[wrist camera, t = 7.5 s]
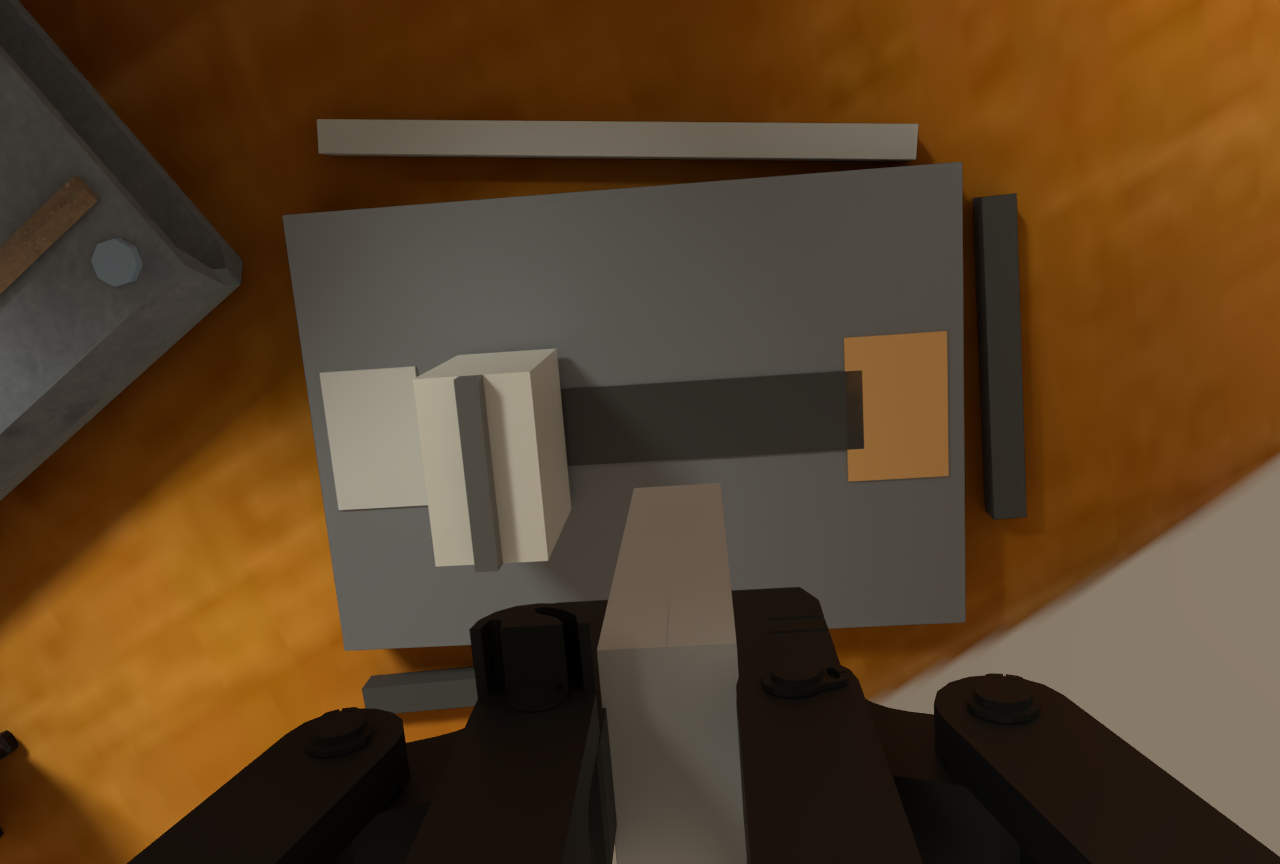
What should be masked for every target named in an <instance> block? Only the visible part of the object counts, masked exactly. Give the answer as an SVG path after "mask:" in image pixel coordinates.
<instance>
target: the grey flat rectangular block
mask: <svg viewBox="0 0 1280 864" xmlns="http://www.w3.org/2000/svg"><path fill="white" fill-rule="evenodd" d="M282 218H283V225H284V232H285V239H286V246H287V253H288V260H289V267H290V274H291V281H292V288H293V295H294V302H295V308H296V315H297V322H298V329H299V336H300V343H301V350H302V357H303V364H304V371H305V378H306V385H307V392H308V399H309V406H310V413H311V420H312V427H313V434H314V440H315V447H316V454H317V461H318V468H319V475H320V482H321V489H322V496H323V503H324V510H325V517H326V524H327V531H328V538H329V545H330V552H331V559H332V565H333V572H334V579H335V586H336V593H337V600H338V607H339V614H340V621H341V628H342V635H343V642H344V649H345V651H348V650H370V649H392V648H414V647H436V646H458V645H471V639H470V631H469V629H470V628H471V627H472V626H473V625H474V624H475V623H476V622H477V621H478V620H480V619H482V618H484V617H486V616H488V615H490V614H492V613H494V612H497V611H500V610H504V609H507V608H511V607H514V606H520V605H528V604H536V603H551V604H554V603H558V602H577V601H595V600H608V599H609V595H610V591H611V586H612V582H613V578H614V573H615V569H616V564H617V560H618V556H619V551H620V547H621V543H622V538H623V534H624V529H625V525H626V521H627V516H628V512H629V508H630V503H631V499H632V494H633V490H634V488H644V487H661V486H677V485H693V484H709V483H721V492H722V502H723V512H724V522H725V532H726V542H727V552H728V562H729V572H730V582H731V590H749V589H768V588H787V587H801V588H802V589H804V590H805V591H807V592H808V593H810V594H811V595H812V596H814V597H815V598H817V599H818V600H819V602H820V605H821V608H822V611H823V614H824V619H825V620H826V623H827V626H828V629H830V628H852V627H874V626H896V625H918V624H940V623H962V622H966V606H965V469H964V332H963V195H962V162H952V163H939V164H927V165H914V166H901V167H888V168H876V169H863V170H850V171H838V172H825V173H812V174H799V175H787V176H774V177H761V178H749V179H736V180H723V181H710V182H698V183H685V184H672V185H660V186H647V187H634V188H621V189H609V190H596V191H583V192H571V193H558V194H545V195H532V196H520V197H507V198H494V199H482V200H469V201H456V202H443V203H431V204H418V205H405V206H393V207H380V208H367V209H354V210H342V211H329V212H316V213H304V214H291V215H282ZM555 348H557V357H558V368H559V379H560V390H561V401H562V412H563V423H564V434H565V445H566V456H567V467H568V478H569V489H570V500H571V511H570V513H569V515H568V518H567V520H566V522H565V524H564V527H563V529H562V531H561V533H560V536H559V538H558V540H557V542H556V544H555V547H554V549H553V551H552V553H551V556H550V558H549V560H548V561H536V562H516V563H503V564H502V566H501V567H500V569H499V571H490V572H475V565H458V566H439V567H436V566H435V558H434V550H433V541H432V533H431V525H430V517H429V509H428V500H427V492H426V484H425V476H424V468H423V459H422V451H421V443H420V435H419V426H418V418H417V410H416V402H415V394H414V385H413V379H414V378H416V377H418V376H420V375H422V374H424V373H425V372H427V371H429V370H431V369H433V368H435V367H437V366H439V365H440V364H442V363H444V362H446V361H448V360H450V359H452V358H454V357H455V356H457V355H466V354H481V353H496V352H511V351H526V350H541V349H555Z"/></svg>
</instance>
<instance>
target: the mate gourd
mask: <svg viewBox="0 0 1280 864" xmlns="http://www.w3.org/2000/svg"><path fill="white" fill-rule="evenodd" d="M17 748H18V742H17V741H16V739H15V738H14V737H13V735H12V734H11V733H10V732H8V731H4V732H2V733H0V759H2V758H4V757H5V756H7V755H9V754H10V753H12V752H13V751H14V750H15V749H17ZM3 834H4V833H3V831H2V829H1V828H0V837H2V836H3Z"/></svg>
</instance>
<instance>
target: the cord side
mask: <svg viewBox="0 0 1280 864" xmlns="http://www.w3.org/2000/svg"><path fill="white" fill-rule="evenodd" d="M973 218H974V243H975V268H976V293H977V318H978V343H979V368H980V393H981V418H982V443H983V468H984V492H985V511H986V512H987V513H988V514H989V515H990V516H991V517H992V518H993V519H994V520H997V519H1009V518H1020V517H1027V513H1026V481H1025V449H1024V418H1023V386H1022V354H1021V322H1020V290H1019V259H1018V227H1017V195H1016V193H1015V194H1006V195H997V196H988V197H979V198H973Z"/></svg>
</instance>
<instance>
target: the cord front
mask: <svg viewBox="0 0 1280 864" xmlns="http://www.w3.org/2000/svg"><path fill="white" fill-rule="evenodd" d="M317 133H318V153H319V154H324V155H330V156H411V157H511V158H611V159H711V160H811V161H912V160H915V159H916V153H917V138H918V124H865V123H740V122H614V121H488V120H362V119H317Z"/></svg>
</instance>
